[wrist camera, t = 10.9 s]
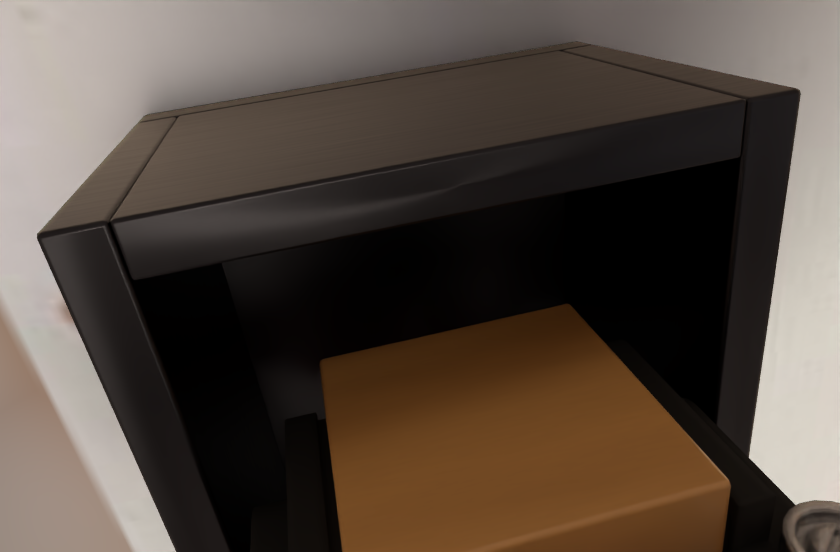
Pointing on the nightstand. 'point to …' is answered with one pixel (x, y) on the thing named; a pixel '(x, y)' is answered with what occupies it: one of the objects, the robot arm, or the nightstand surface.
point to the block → (512, 446)
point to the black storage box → (415, 246)
